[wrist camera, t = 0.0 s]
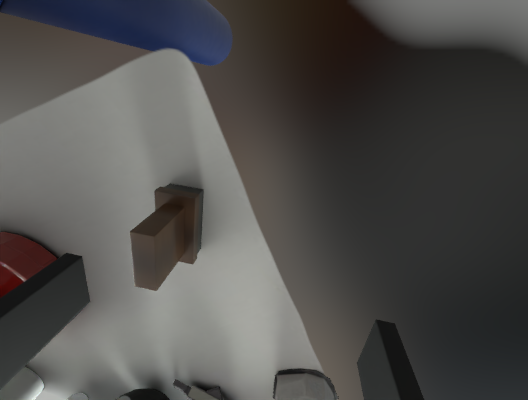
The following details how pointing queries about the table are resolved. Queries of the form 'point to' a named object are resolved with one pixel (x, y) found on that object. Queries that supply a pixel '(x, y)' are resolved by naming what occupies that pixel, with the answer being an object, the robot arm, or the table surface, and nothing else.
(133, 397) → the toy
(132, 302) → the table surface
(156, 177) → the table surface
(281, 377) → the decorative ornament
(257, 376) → the table surface
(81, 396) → the pill bottle
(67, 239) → the table surface
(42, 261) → the bowl
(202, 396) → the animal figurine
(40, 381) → the cup
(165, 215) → the brown block stand
